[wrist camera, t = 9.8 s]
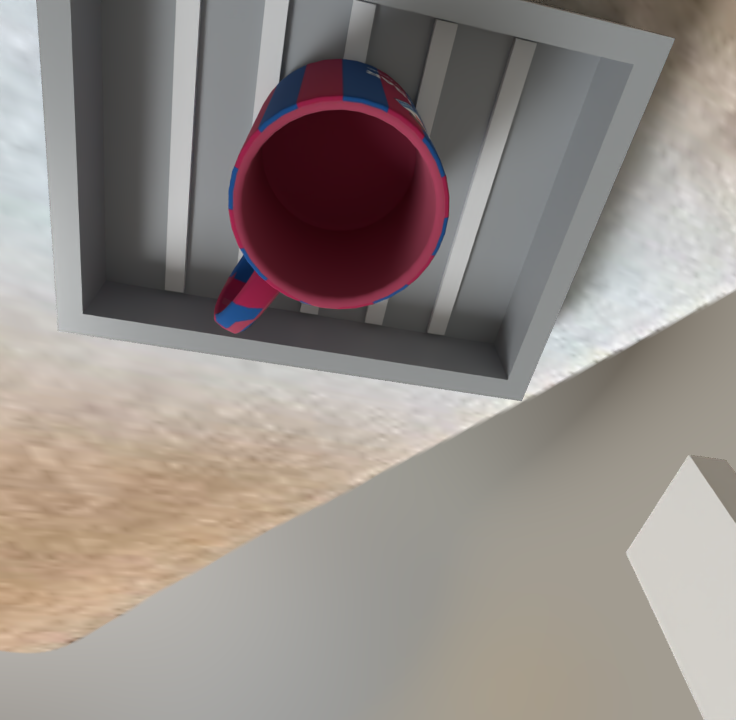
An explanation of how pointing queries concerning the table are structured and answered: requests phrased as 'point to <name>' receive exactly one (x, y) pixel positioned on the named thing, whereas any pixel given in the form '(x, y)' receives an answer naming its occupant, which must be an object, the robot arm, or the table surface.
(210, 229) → the rack
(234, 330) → the mug
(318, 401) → the table surface
